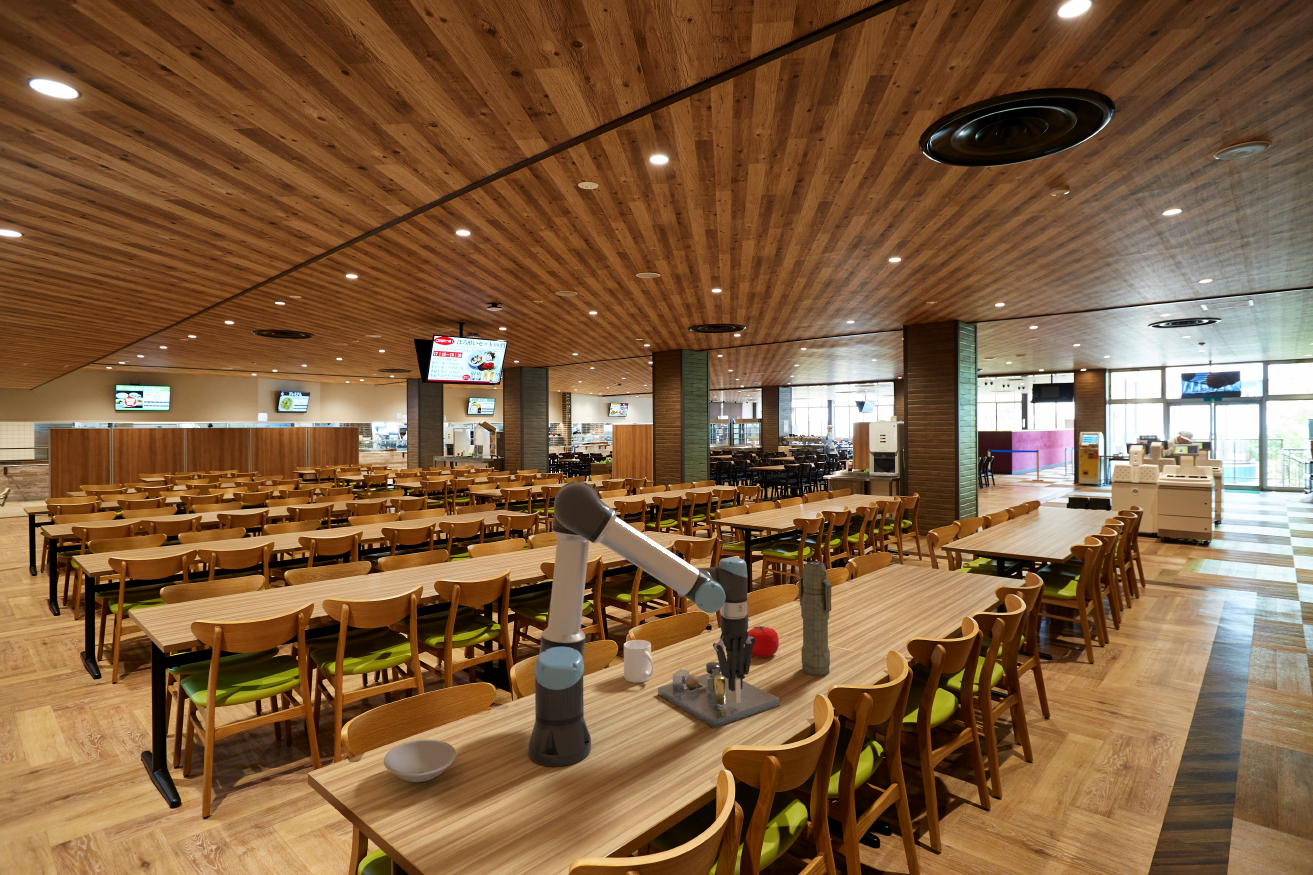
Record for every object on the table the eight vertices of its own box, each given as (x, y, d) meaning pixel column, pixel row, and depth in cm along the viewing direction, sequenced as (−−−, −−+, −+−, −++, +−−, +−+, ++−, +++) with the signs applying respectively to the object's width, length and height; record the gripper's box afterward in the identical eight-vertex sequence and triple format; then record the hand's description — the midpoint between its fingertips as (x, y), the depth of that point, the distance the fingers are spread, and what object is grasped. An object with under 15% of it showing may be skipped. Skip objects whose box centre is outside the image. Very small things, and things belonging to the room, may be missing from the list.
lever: (711, 705, 169) (710, 679, 169) (704, 678, 187) (704, 655, 187) (729, 704, 169) (729, 679, 169) (721, 677, 187) (721, 655, 187)
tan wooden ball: (691, 692, 180) (691, 678, 180) (683, 687, 183) (682, 674, 183) (702, 689, 182) (701, 675, 182) (693, 684, 185) (693, 671, 185)
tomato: (786, 657, 213) (785, 627, 213) (753, 663, 208) (753, 632, 208) (768, 647, 223) (768, 619, 223) (737, 652, 218) (737, 623, 218)
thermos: (824, 679, 193) (823, 567, 193) (792, 669, 202) (791, 562, 202) (839, 672, 199) (838, 563, 199) (808, 662, 208) (807, 558, 208)
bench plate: (713, 728, 162) (713, 705, 162) (657, 694, 183) (657, 674, 183) (779, 705, 175) (779, 683, 175) (720, 676, 197) (720, 657, 197)
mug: (641, 689, 187) (641, 653, 187) (618, 677, 197) (618, 643, 197) (663, 681, 193) (663, 647, 193) (640, 670, 202) (639, 637, 202)
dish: (370, 778, 139) (370, 756, 139) (429, 752, 151) (429, 732, 151) (410, 807, 128) (410, 783, 128) (470, 777, 139) (470, 755, 139)
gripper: (721, 622, 164) (723, 711, 164) (761, 615, 170) (763, 701, 170) (706, 615, 170) (708, 701, 170) (745, 608, 176) (747, 691, 176)
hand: (735, 701), depth 170 cm, fingers closed
